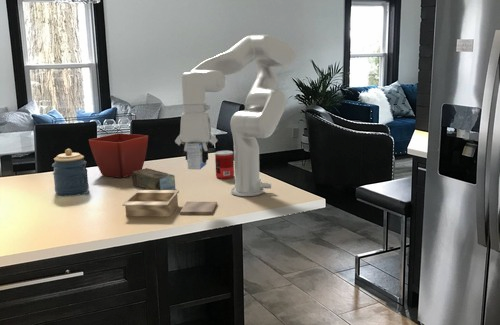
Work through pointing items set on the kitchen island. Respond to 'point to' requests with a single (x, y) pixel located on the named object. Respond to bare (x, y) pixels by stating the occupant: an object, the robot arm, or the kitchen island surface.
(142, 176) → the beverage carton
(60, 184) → the canister
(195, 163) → the medicine box
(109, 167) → the plant pot
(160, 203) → the wooden tray
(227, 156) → the canned food
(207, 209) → the walnut board
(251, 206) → the kitchen island surface
